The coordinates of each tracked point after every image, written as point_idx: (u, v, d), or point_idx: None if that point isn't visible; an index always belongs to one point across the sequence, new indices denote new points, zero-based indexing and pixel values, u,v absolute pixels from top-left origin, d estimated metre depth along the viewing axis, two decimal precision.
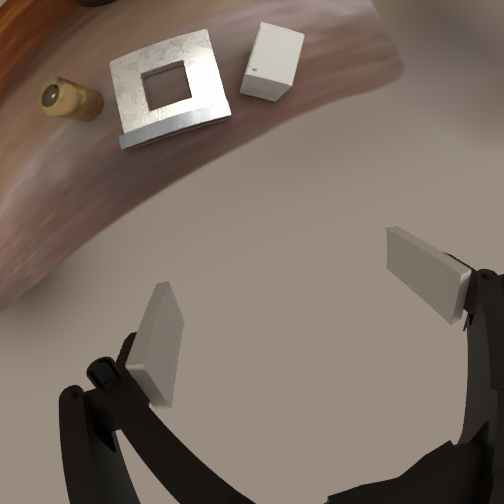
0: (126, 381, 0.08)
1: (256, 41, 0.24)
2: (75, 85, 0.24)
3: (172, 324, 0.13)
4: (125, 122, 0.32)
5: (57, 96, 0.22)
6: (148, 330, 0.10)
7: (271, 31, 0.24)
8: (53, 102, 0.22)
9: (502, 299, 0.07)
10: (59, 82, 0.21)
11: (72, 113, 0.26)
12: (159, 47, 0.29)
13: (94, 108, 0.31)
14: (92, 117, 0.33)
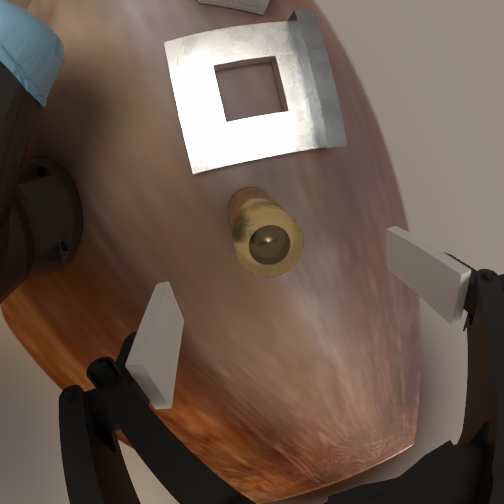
0: (126, 381, 0.08)
1: None
2: (247, 207, 0.21)
3: (172, 324, 0.13)
4: (298, 145, 0.26)
5: (277, 229, 0.19)
6: (148, 330, 0.10)
7: None
8: (286, 237, 0.19)
9: (502, 299, 0.07)
10: (250, 227, 0.19)
11: None
12: (185, 98, 0.23)
13: (267, 194, 0.27)
14: None
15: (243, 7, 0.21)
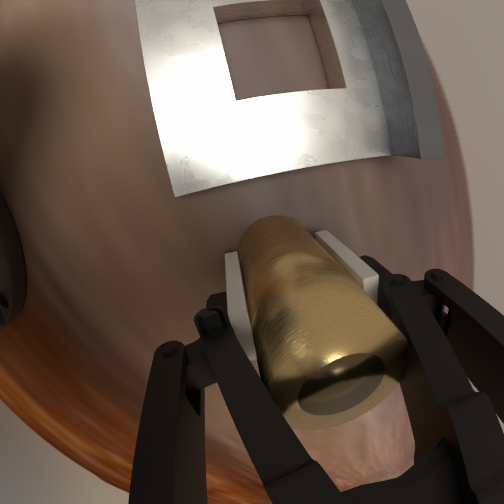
0: (232, 333, 0.10)
1: None
2: (290, 288, 0.09)
3: None
4: (361, 149, 0.14)
5: (366, 358, 0.07)
6: (238, 286, 0.12)
7: None
8: (378, 368, 0.07)
9: (421, 303, 0.08)
10: (308, 364, 0.07)
11: None
12: (161, 60, 0.11)
13: (308, 233, 0.15)
14: None
15: None
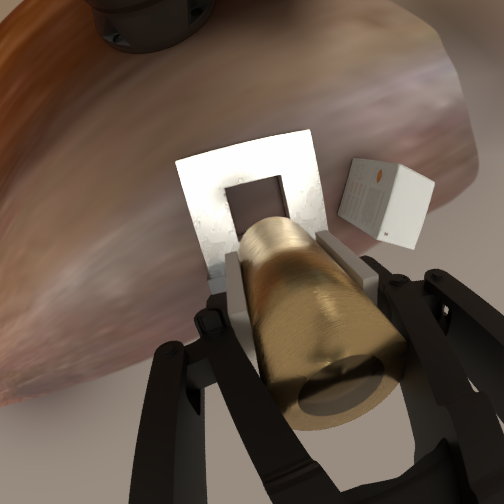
0: (232, 333, 0.10)
1: (392, 194, 0.23)
2: (290, 289, 0.09)
3: None
4: (207, 252, 0.31)
5: (365, 360, 0.07)
6: (238, 286, 0.12)
7: (407, 180, 0.23)
8: (378, 370, 0.07)
9: (421, 303, 0.08)
10: (307, 365, 0.07)
11: None
12: (248, 150, 0.28)
13: (308, 234, 0.15)
14: None
15: (344, 198, 0.32)
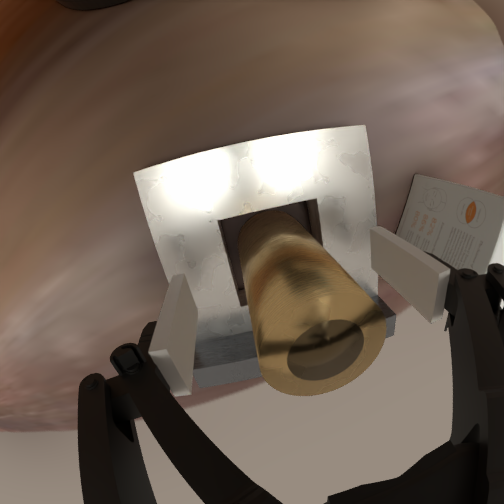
0: (150, 368, 0.08)
1: (496, 248, 0.11)
2: (280, 267, 0.11)
3: (189, 314, 0.14)
4: None
5: (345, 325, 0.09)
6: (169, 318, 0.11)
7: None
8: (358, 336, 0.09)
9: (484, 298, 0.07)
10: (294, 326, 0.09)
11: None
12: (262, 154, 0.16)
13: (300, 225, 0.17)
14: None
15: (401, 235, 0.20)
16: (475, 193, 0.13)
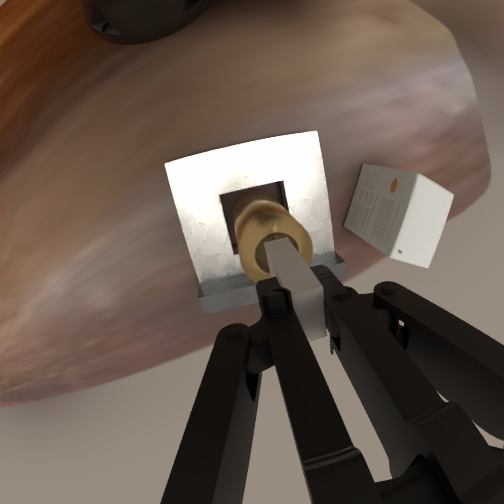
0: (295, 315, 0.10)
1: (409, 207, 0.20)
2: (253, 212, 0.20)
3: None
4: (199, 265, 0.28)
5: (285, 236, 0.18)
6: (289, 271, 0.13)
7: (426, 191, 0.20)
8: (294, 245, 0.18)
9: (371, 315, 0.09)
10: (257, 234, 0.18)
11: None
12: (247, 152, 0.25)
13: (272, 197, 0.26)
14: None
15: (352, 208, 0.29)
16: (397, 172, 0.22)
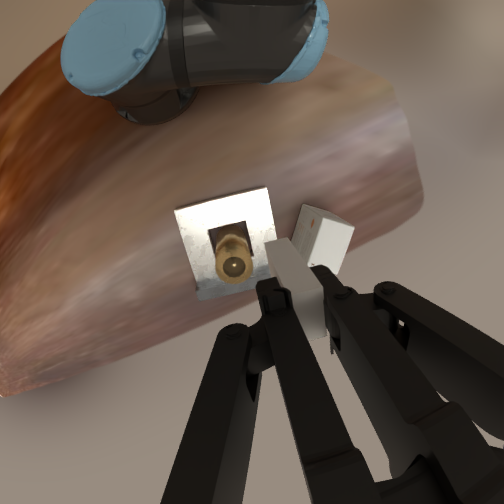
0: (294, 315, 0.10)
1: (317, 238, 0.38)
2: (223, 244, 0.38)
3: None
4: (196, 271, 0.46)
5: (237, 258, 0.36)
6: (289, 271, 0.13)
7: (329, 228, 0.37)
8: (242, 262, 0.36)
9: (371, 315, 0.09)
10: (223, 257, 0.36)
11: (248, 248, 0.40)
12: (223, 204, 0.43)
13: (239, 231, 0.44)
14: (244, 234, 0.46)
15: (294, 234, 0.47)
16: (315, 214, 0.40)
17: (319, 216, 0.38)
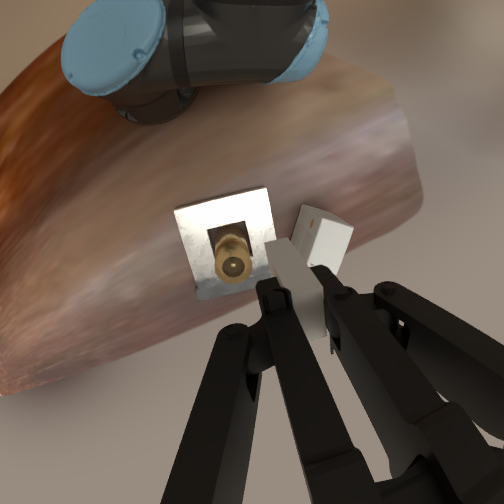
0: (295, 315, 0.10)
1: (316, 238, 0.38)
2: (223, 244, 0.38)
3: None
4: (195, 271, 0.46)
5: (236, 258, 0.36)
6: (289, 271, 0.13)
7: (329, 228, 0.37)
8: (242, 262, 0.36)
9: (371, 315, 0.09)
10: (222, 257, 0.36)
11: (247, 248, 0.40)
12: (222, 204, 0.43)
13: (238, 231, 0.44)
14: None
15: (293, 234, 0.47)
16: (314, 215, 0.40)
17: (318, 216, 0.38)
